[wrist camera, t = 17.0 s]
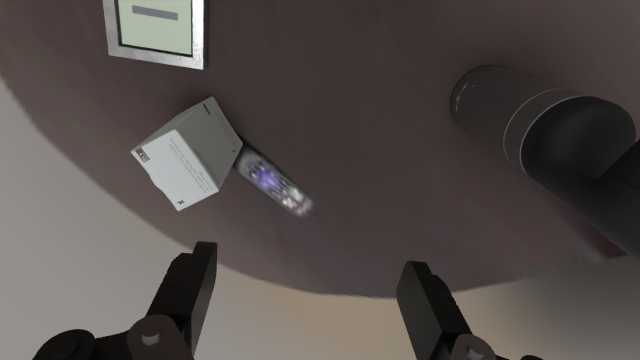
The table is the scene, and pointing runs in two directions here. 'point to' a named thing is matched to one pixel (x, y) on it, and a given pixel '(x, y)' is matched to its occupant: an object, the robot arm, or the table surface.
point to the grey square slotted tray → (155, 55)
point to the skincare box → (190, 154)
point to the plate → (158, 24)
